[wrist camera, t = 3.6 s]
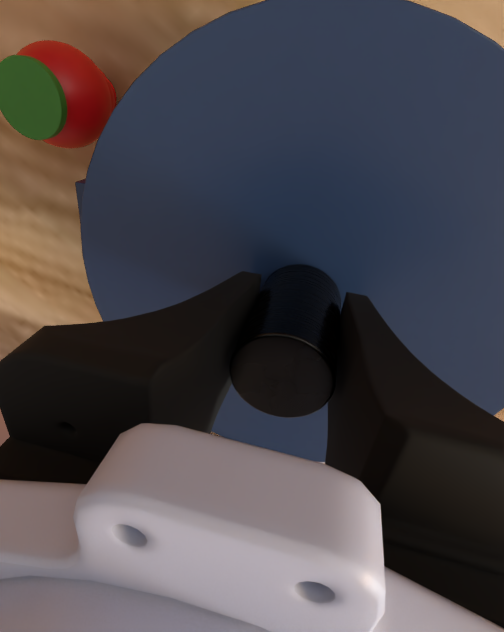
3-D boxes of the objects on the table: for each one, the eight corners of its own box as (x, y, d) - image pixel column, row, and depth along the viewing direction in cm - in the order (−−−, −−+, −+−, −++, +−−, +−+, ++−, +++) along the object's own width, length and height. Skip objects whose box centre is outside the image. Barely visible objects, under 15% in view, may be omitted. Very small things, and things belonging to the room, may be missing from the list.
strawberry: (138, 145, 21) (81, 162, 16) (67, 133, 21) (-6, 147, 17) (134, 51, 18) (67, 42, 14) (55, 40, 19) (-34, 29, 15)
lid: (449, 480, 17) (481, 616, 12) (116, 394, 19) (46, 486, 14) (729, 38, 8) (1120, -5, 4) (68, -30, 10) (-133, -107, 6)
